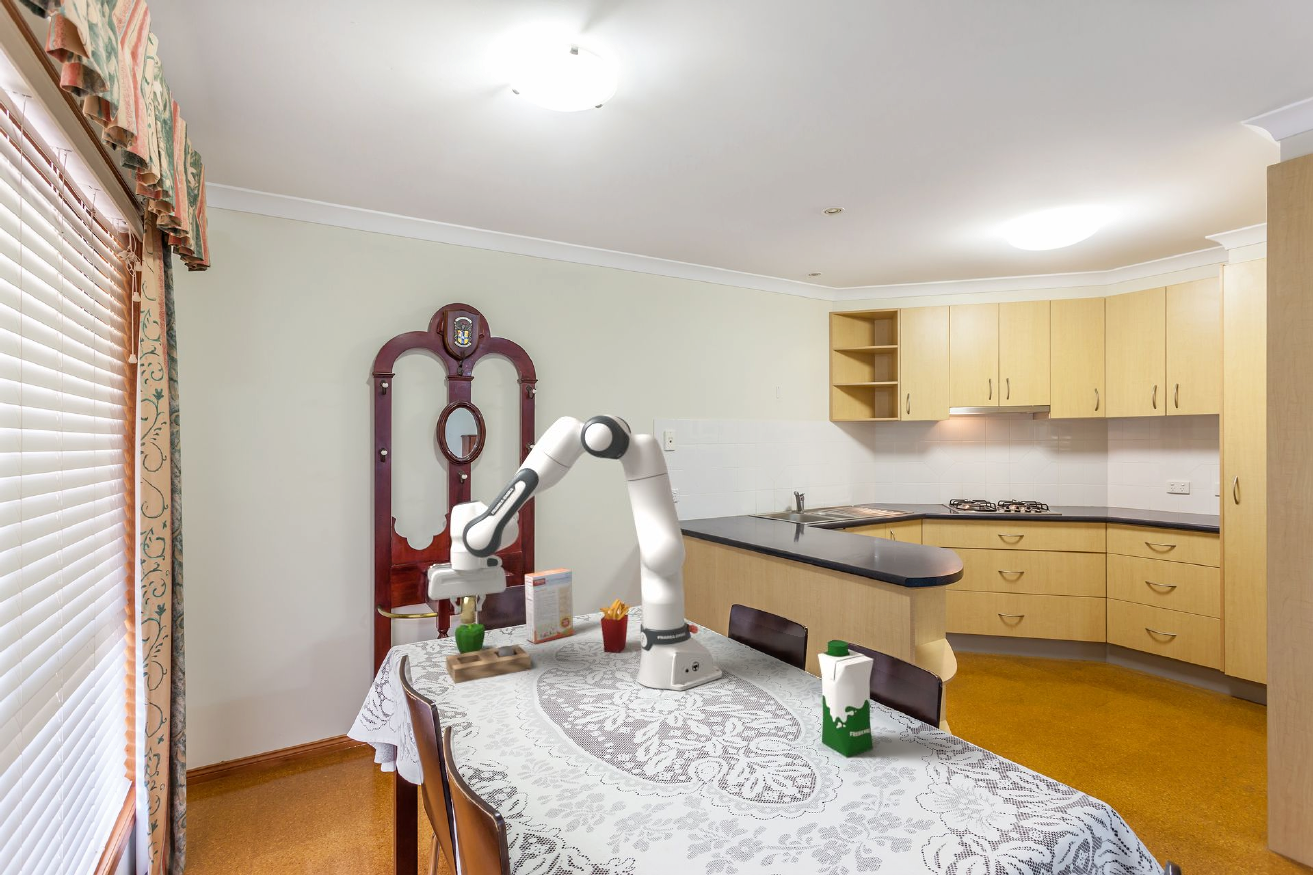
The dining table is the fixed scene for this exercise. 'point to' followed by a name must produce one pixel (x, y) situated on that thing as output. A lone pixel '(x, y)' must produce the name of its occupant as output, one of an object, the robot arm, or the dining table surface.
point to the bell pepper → (470, 637)
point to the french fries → (615, 627)
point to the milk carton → (846, 699)
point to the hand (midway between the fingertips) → (468, 612)
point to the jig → (487, 663)
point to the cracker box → (548, 605)
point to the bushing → (468, 609)
